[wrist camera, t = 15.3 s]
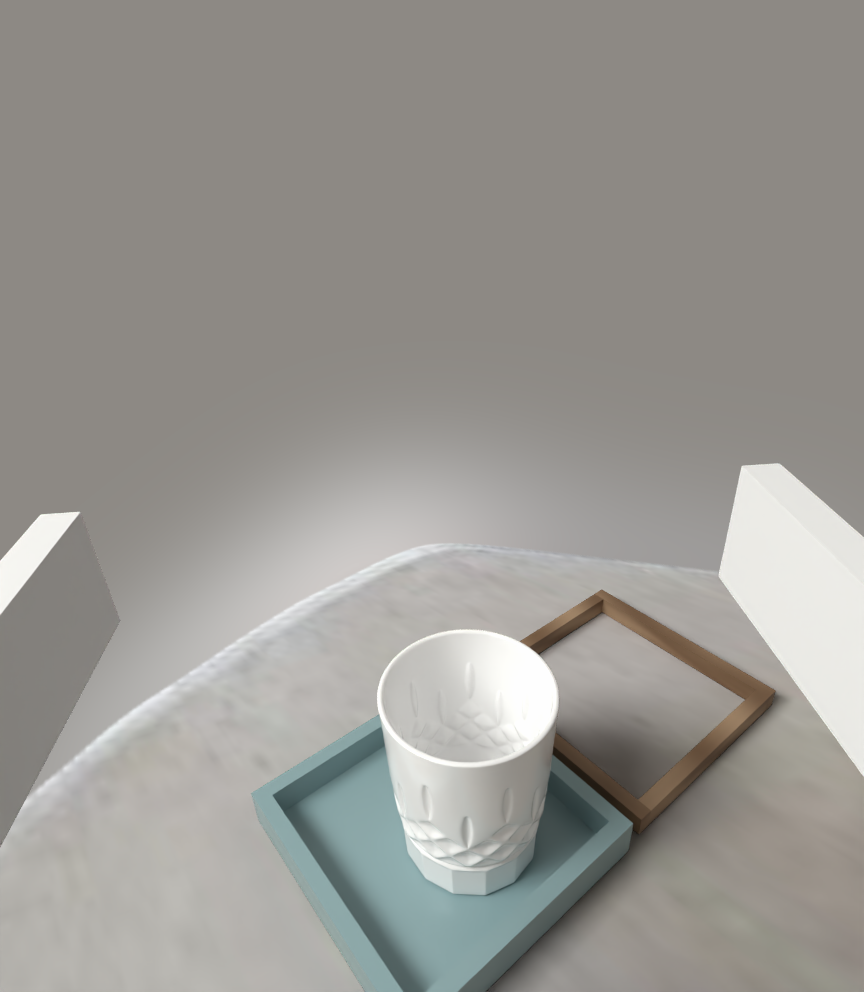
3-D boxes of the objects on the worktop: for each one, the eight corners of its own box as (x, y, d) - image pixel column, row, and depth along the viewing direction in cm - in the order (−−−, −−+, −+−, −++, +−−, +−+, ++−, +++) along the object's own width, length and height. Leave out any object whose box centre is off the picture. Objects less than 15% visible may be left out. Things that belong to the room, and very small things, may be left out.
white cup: (386, 777, 37) (370, 641, 32) (524, 754, 38) (529, 618, 33) (403, 925, 30) (386, 782, 25) (570, 893, 31) (586, 748, 26)
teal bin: (453, 694, 42) (452, 669, 41) (628, 850, 33) (633, 823, 32) (258, 819, 35) (251, 793, 34) (410, 1065, 26) (407, 1039, 25)
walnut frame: (600, 602, 50) (601, 589, 49) (771, 704, 41) (775, 690, 40) (468, 687, 43) (468, 674, 42) (638, 834, 34) (641, 819, 33)
